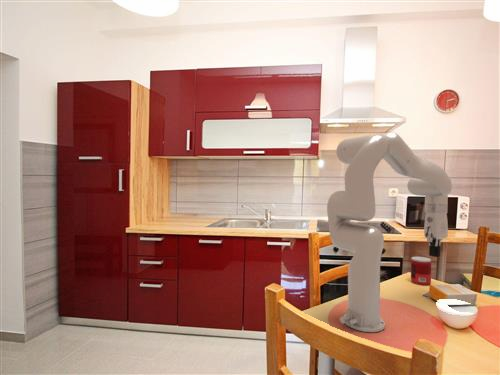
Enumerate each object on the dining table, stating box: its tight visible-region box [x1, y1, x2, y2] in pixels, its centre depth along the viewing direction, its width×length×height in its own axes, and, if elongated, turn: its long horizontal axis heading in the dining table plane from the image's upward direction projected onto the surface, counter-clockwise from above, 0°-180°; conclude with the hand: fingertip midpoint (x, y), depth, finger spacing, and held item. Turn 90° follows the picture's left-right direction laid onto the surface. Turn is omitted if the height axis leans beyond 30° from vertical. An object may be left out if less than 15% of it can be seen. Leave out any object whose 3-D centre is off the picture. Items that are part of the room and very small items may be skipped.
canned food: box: [410, 256, 432, 286], centre depth 135 cm, size 8×8×11 cm
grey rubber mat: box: [422, 291, 434, 300], centre depth 119 cm, size 12×8×1 cm, turn 126°
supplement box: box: [428, 283, 478, 306], centre depth 113 cm, size 8×5×13 cm
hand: (434, 256), depth 116 cm, fingers closed
